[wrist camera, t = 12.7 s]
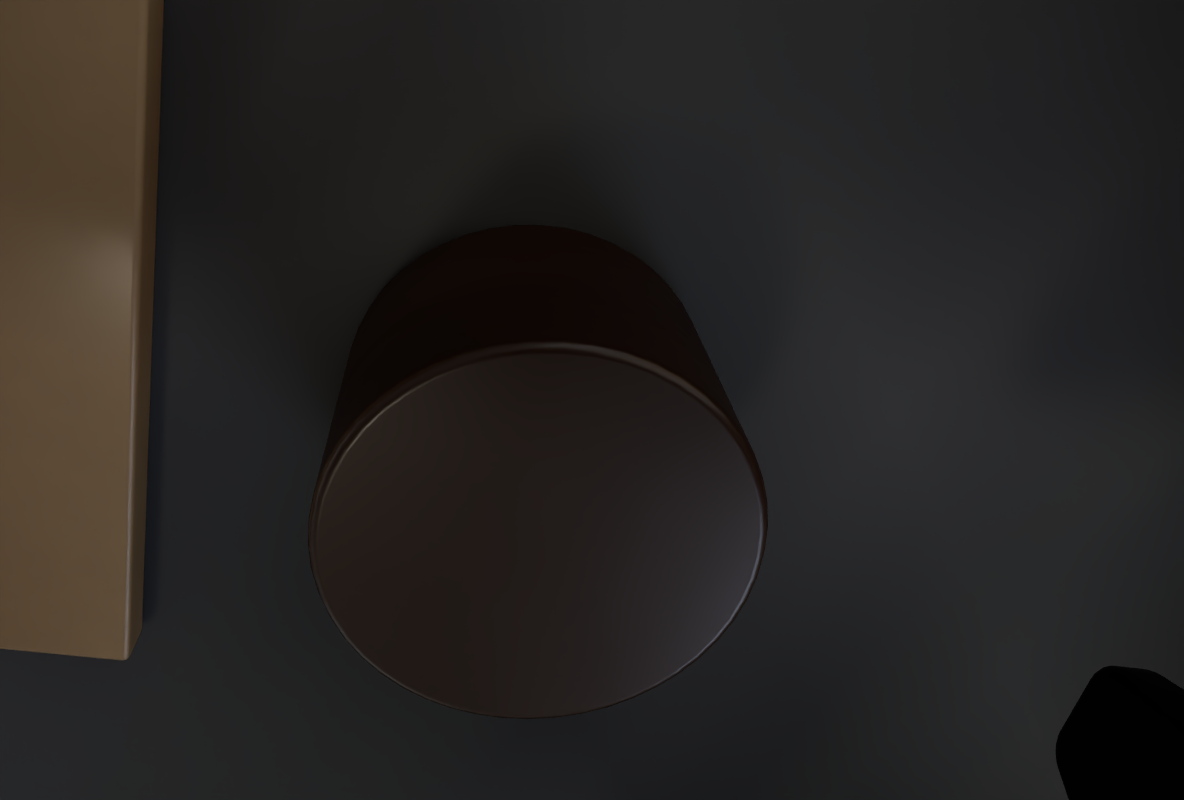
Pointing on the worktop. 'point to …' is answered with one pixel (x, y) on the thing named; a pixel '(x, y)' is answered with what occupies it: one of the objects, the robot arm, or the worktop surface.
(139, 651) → the worktop surface
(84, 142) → the face board
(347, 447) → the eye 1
